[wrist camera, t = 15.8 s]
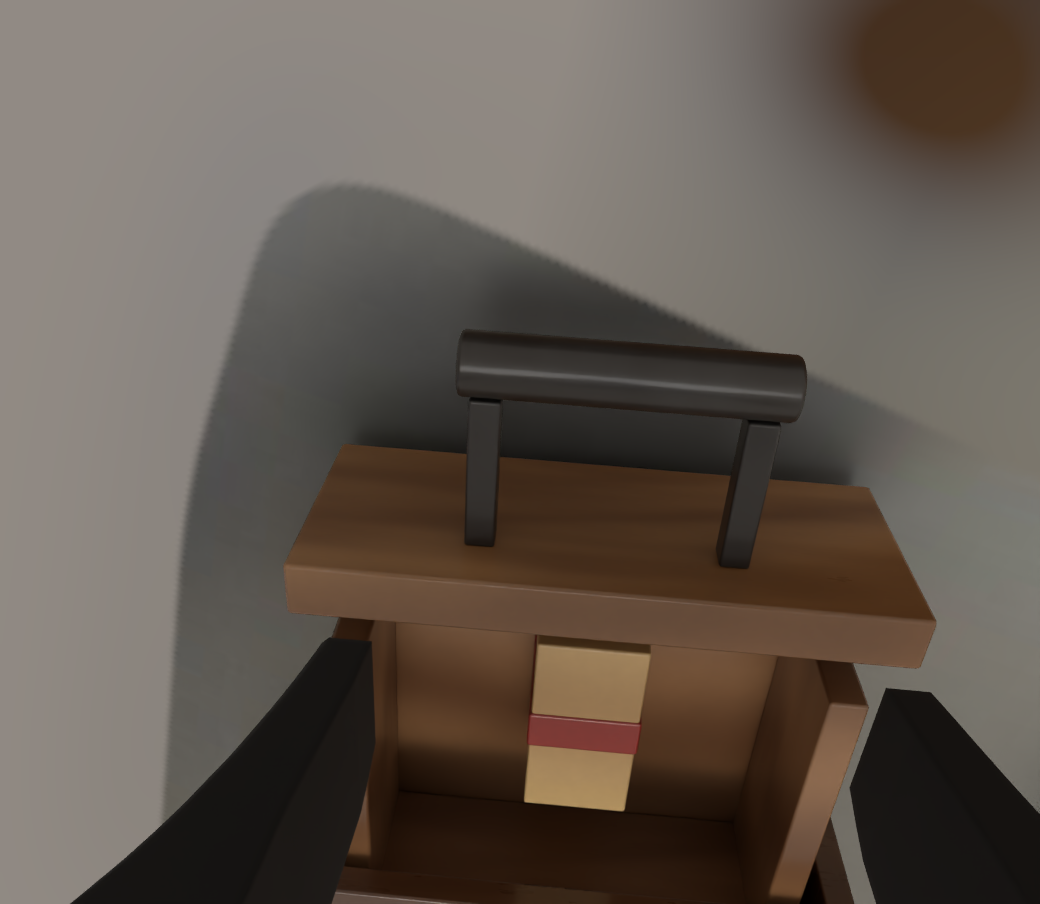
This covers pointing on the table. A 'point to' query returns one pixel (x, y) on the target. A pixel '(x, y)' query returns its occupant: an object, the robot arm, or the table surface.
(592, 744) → the red striped tan block
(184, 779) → the table surface
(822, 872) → the cabinet
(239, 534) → the table surface
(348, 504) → the drawer
